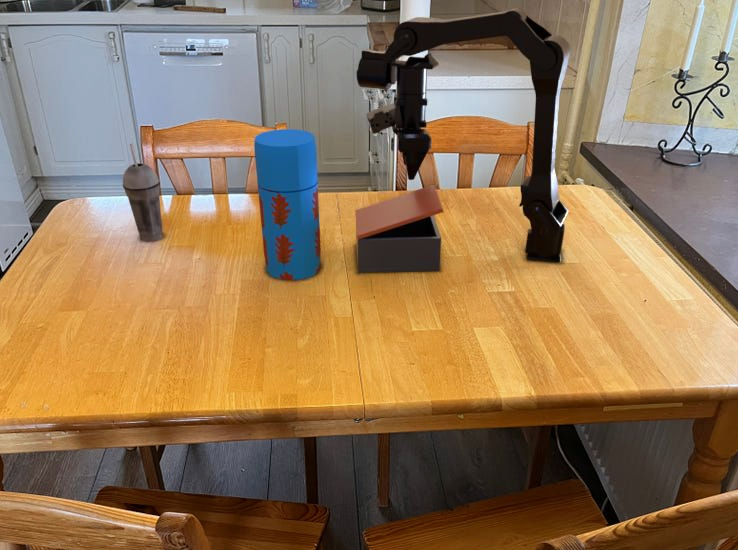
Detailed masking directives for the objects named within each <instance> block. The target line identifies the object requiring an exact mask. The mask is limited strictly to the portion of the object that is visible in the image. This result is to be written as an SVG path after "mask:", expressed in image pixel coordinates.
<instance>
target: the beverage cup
mask: <svg viewBox="0 0 738 550" xmlns="http://www.w3.org/2000/svg"><path fill="white" fill-rule="evenodd" d="M129 147H130V151H131V155H132V160H133V163H134V164H131V165H130V166H128V167H127V168H126V169H125V171H124V173H123V176H122V188H123V190H124V192H125V195H126V197H127V199H128V203H129V205H130V208H131V212H132V215H133V218H134V222H135V226H136V229H137V232H138V234H139V238H140V241H143V242H155V241H159V240H160V239H162V238H163V222H162V211H161V210H162V209H161V201H160V190H161V189H160V184H161V182H160V180H159V177H158V175H157V173H156V171H155V170H154V169H153V168H152V167H150V166H149V165H147V164H145V163H141V162H140V163H138V161H137V157H136V153H135V150H134V144H133V143H131V142H130V143H129Z"/></svg>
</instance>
